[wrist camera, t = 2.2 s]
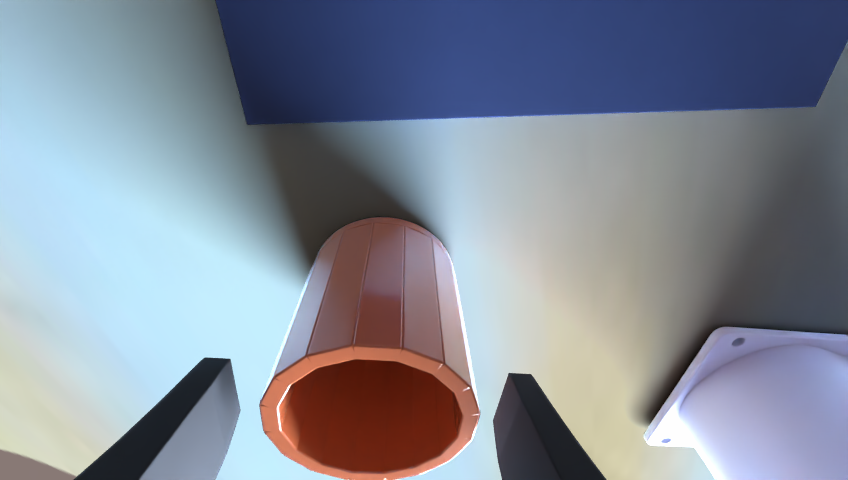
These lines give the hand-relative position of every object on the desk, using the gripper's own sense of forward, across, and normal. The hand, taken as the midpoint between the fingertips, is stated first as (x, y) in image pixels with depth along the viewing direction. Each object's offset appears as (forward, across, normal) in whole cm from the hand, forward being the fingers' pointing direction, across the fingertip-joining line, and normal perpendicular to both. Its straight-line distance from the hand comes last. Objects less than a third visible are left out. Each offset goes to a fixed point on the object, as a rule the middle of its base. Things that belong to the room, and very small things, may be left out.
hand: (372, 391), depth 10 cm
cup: (+5, 0, 0) cm, 5 cm away
